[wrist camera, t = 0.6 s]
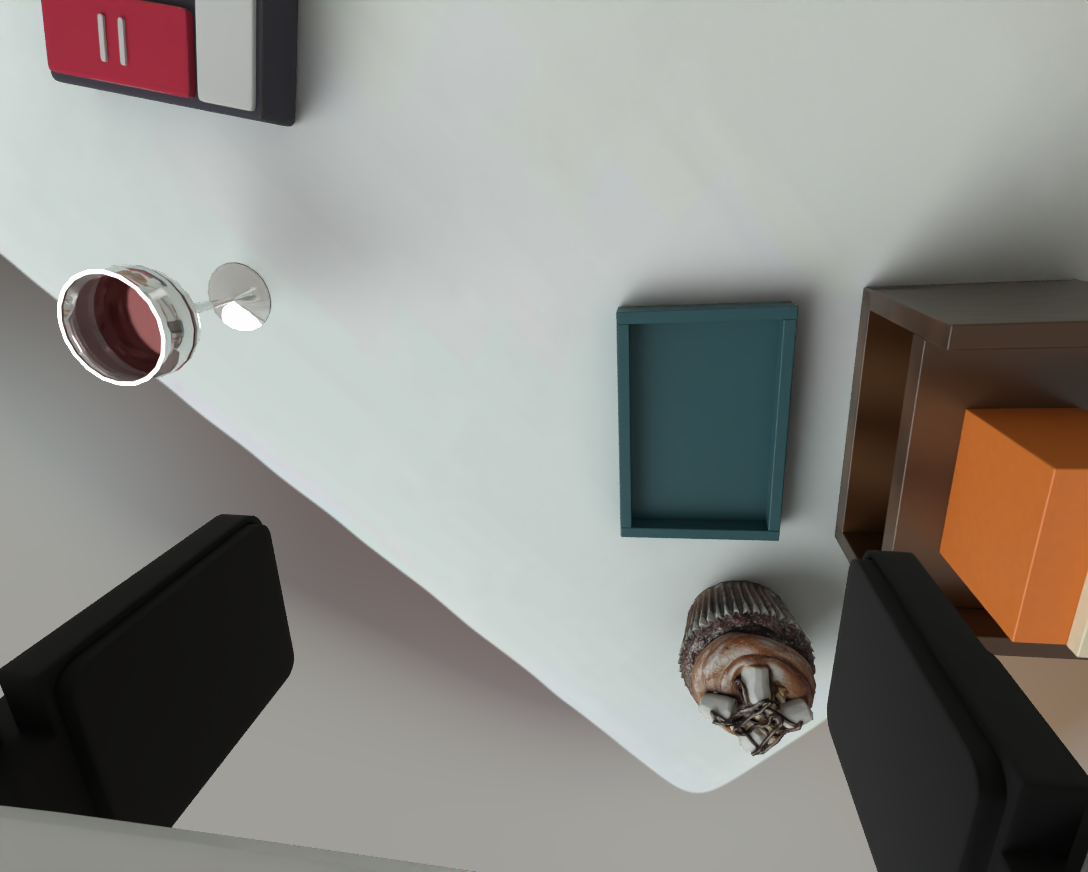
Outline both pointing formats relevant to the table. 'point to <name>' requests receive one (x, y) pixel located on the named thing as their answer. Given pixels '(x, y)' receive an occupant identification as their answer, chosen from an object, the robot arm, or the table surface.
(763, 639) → the cupcake
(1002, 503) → the packet
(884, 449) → the shelf
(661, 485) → the tray
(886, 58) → the table surface
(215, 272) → the wineglass
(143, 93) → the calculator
